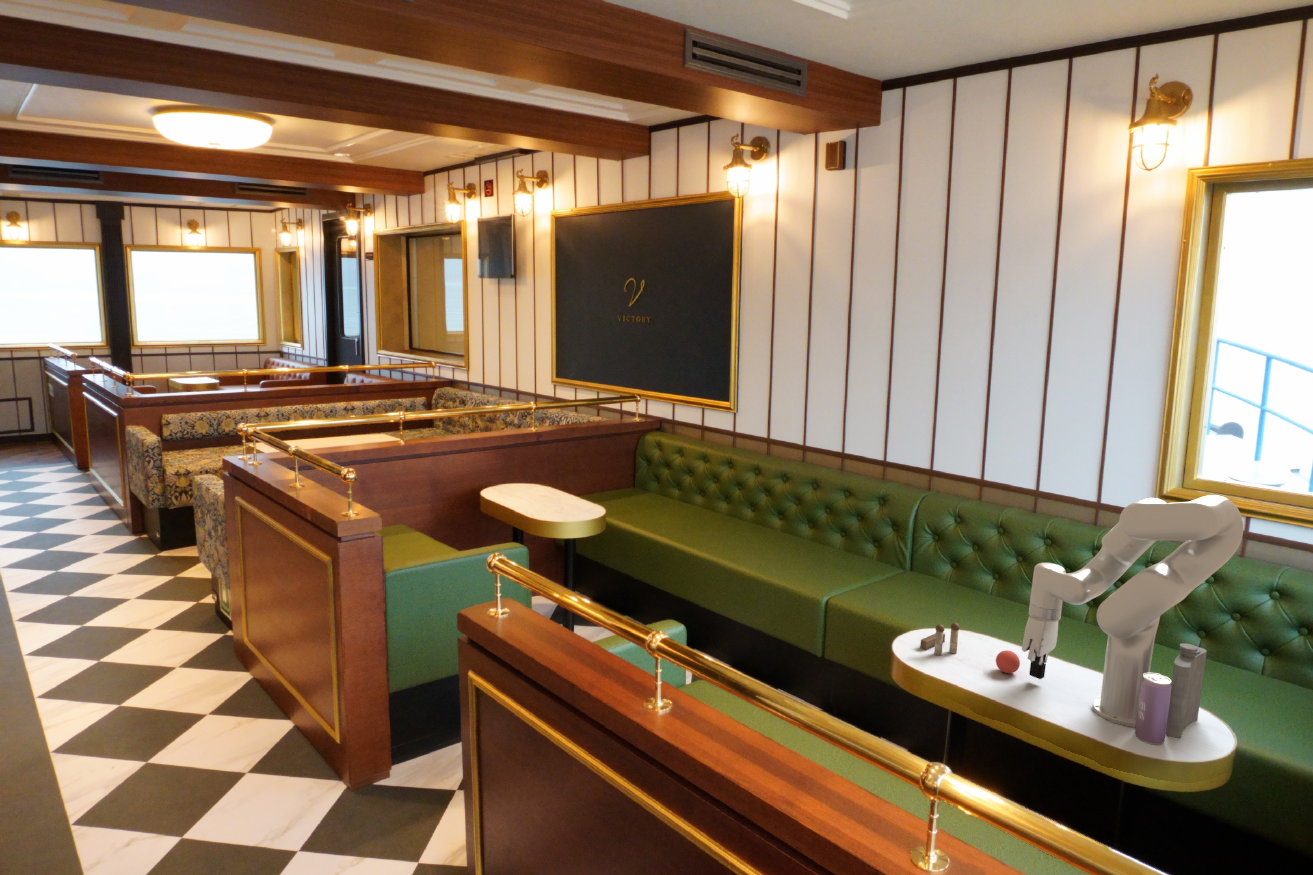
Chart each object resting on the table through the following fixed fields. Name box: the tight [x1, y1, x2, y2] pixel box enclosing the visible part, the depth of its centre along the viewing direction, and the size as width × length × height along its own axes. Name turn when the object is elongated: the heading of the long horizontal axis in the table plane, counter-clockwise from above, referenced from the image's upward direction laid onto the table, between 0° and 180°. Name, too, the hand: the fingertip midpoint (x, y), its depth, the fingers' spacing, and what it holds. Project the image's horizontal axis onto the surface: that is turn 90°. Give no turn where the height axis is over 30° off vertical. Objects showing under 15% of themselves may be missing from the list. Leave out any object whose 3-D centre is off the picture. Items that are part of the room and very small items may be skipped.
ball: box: [995, 650, 1021, 674], centre depth 220 cm, size 6×6×6 cm
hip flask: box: [1165, 642, 1207, 739], centre depth 193 cm, size 16×4×20 cm, turn 132°
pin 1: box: [933, 623, 945, 657], centre depth 231 cm, size 2×2×9 cm
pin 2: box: [948, 622, 960, 655], centre depth 232 cm, size 2×2×9 cm
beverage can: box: [1134, 672, 1172, 746], centre depth 186 cm, size 6×6×15 cm
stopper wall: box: [919, 632, 946, 651], centre depth 238 cm, size 2×10×2 cm, turn 130°
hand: (1036, 676), depth 214 cm, fingers closed
